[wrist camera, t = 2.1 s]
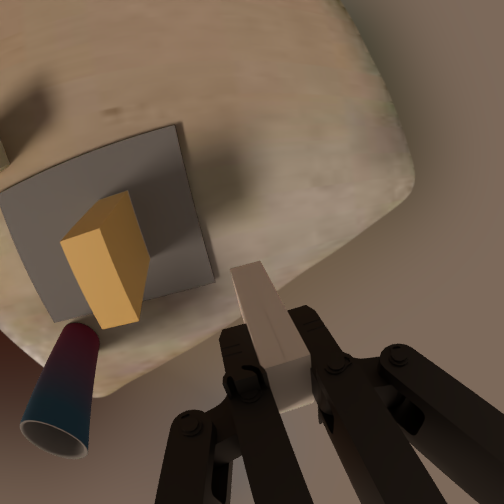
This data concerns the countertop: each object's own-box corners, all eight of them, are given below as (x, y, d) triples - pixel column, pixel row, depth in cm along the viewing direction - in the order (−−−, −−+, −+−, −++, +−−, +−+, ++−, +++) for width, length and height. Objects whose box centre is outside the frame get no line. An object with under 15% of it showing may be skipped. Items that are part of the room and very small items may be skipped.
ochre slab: (98, 199, 25) (59, 241, 16) (127, 190, 25) (99, 228, 16) (122, 265, 28) (102, 329, 19) (150, 258, 28) (139, 320, 19)
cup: (113, 357, 33) (99, 461, 20) (68, 359, 32) (43, 455, 18) (96, 314, 30) (66, 423, 17) (48, 317, 29) (6, 416, 15)
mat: (-1, 193, 22) (-4, 194, 21) (174, 124, 24) (174, 125, 23) (55, 319, 29) (54, 322, 28) (214, 279, 31) (215, 282, 31)
